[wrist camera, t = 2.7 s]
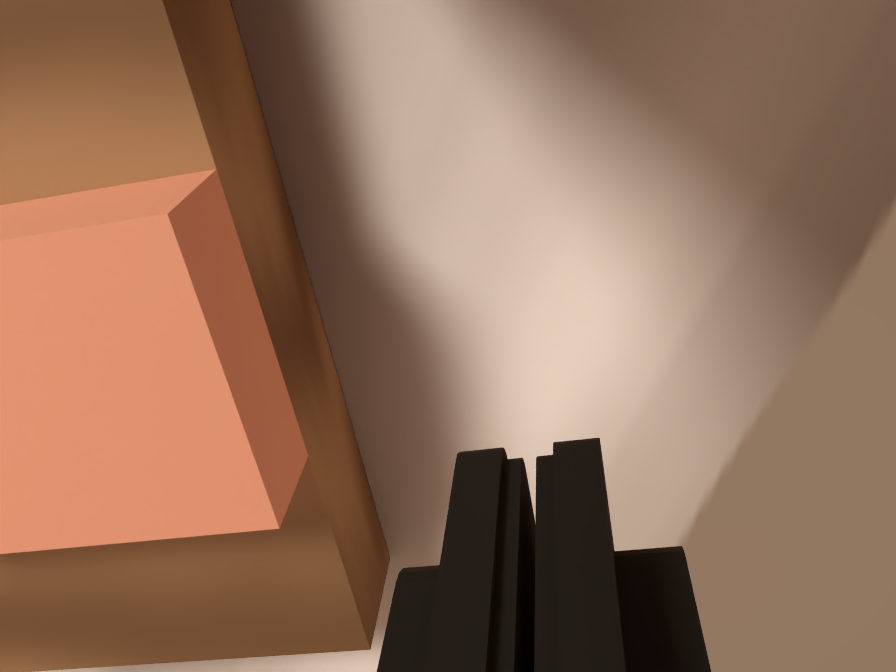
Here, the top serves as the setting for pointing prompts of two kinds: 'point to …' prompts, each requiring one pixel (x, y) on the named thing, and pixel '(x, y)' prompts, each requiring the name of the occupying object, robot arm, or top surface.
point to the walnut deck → (288, 322)
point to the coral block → (136, 372)
